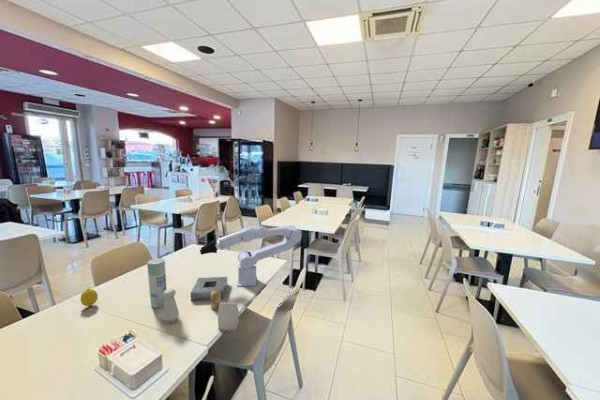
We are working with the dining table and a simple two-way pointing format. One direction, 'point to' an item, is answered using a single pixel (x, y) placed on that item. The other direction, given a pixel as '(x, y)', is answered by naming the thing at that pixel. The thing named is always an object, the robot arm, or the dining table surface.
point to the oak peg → (215, 299)
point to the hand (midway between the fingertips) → (200, 251)
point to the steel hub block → (208, 288)
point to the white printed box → (228, 316)
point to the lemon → (89, 297)
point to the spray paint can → (157, 281)
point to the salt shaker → (170, 306)
